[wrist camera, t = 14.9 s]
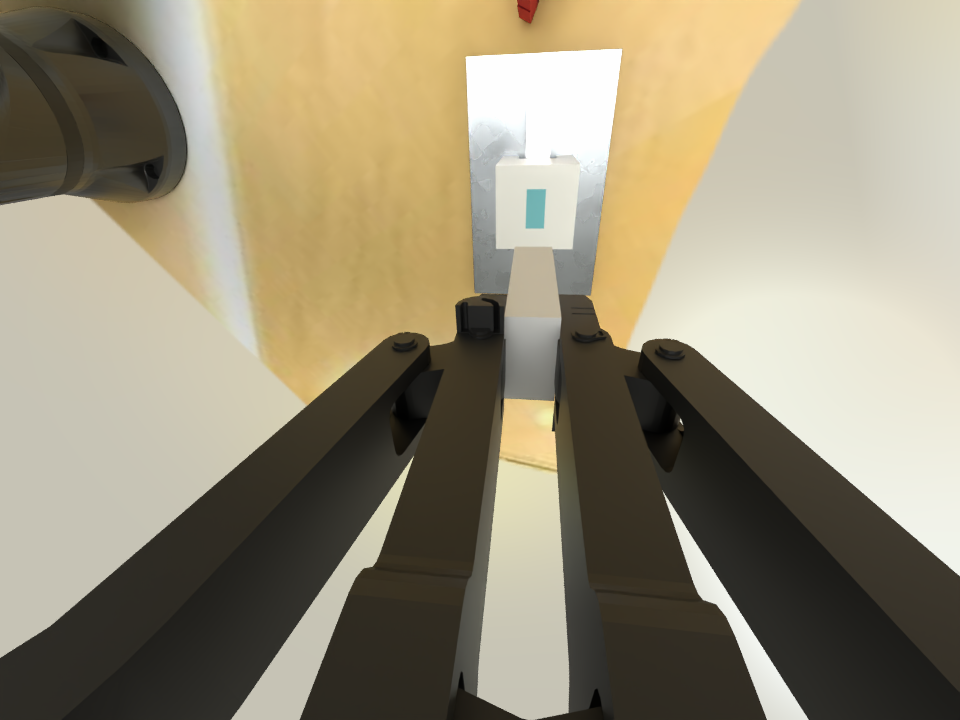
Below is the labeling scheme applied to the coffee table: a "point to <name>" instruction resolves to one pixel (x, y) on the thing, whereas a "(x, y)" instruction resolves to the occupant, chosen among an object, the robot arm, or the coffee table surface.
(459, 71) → the coffee table surface
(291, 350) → the coffee table surface
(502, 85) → the rail plate
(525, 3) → the mug
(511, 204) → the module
